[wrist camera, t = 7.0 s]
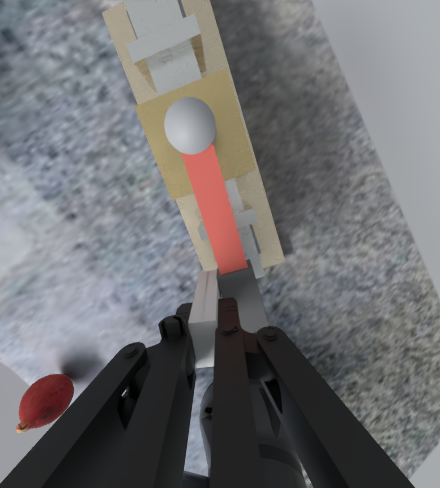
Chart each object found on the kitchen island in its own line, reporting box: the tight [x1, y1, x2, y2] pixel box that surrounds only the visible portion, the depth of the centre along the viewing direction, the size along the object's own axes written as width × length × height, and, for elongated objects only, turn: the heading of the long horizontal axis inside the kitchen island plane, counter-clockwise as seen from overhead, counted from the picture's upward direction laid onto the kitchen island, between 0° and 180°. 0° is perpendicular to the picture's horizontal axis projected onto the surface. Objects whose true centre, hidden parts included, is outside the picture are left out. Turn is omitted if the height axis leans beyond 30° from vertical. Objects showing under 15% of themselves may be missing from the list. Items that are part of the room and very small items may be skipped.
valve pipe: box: [102, 0, 285, 279], centre depth 20 cm, size 30×10×11 cm, turn 19°
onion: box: [16, 374, 74, 433], centre depth 30 cm, size 6×6×8 cm
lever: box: [164, 97, 269, 333], centre depth 15 cm, size 16×3×2 cm, turn 17°
